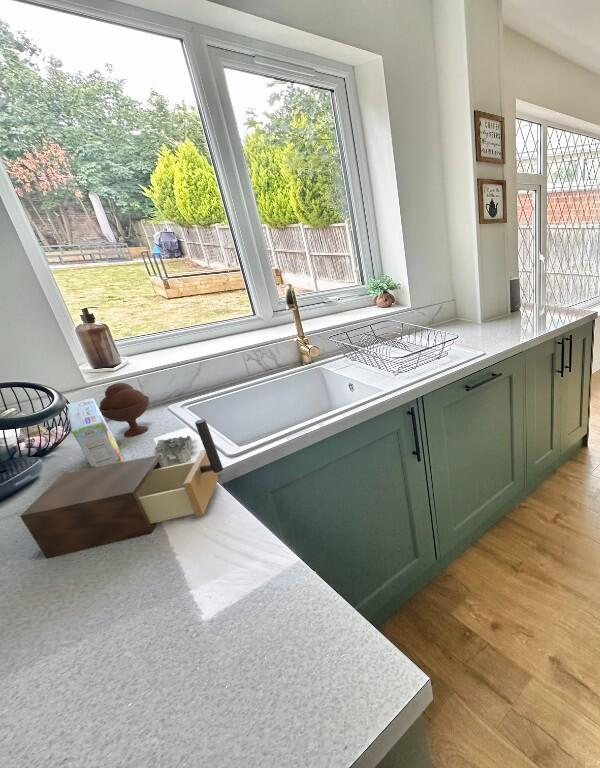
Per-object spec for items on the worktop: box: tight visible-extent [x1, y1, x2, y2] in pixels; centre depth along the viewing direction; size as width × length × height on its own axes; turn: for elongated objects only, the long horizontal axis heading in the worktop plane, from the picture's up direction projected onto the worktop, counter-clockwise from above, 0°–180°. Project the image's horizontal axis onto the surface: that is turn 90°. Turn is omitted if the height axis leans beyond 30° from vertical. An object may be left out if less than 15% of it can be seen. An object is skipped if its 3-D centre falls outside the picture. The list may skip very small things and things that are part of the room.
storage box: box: [19, 455, 164, 559], centre depth 83 cm, size 16×14×10 cm
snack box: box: [67, 397, 124, 468], centre depth 102 cm, size 21×6×15 cm, turn 47°
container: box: [136, 418, 224, 524], centre depth 85 cm, size 20×14×18 cm
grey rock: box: [151, 435, 194, 467], centre depth 107 cm, size 11×8×4 cm
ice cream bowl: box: [98, 382, 150, 438], centre depth 118 cm, size 11×11×15 cm
